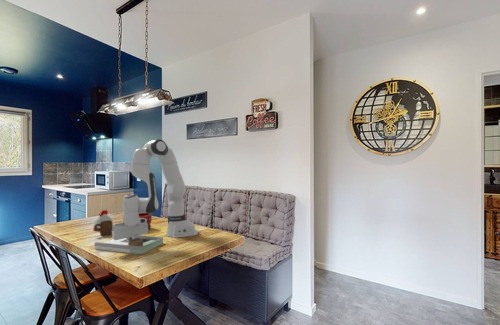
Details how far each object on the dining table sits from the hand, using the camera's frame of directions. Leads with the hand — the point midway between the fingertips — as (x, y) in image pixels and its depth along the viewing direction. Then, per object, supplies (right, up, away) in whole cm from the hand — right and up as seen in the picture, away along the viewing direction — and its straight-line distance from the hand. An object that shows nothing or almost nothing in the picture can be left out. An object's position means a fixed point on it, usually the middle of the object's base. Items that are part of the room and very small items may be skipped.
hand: (130, 243), depth 149 cm
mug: (-35, -4, +30) cm, 46 cm away
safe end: (+9, -3, +2) cm, 10 cm away
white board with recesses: (-3, -3, +6) cm, 7 cm away
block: (+4, -1, -2) cm, 4 cm away
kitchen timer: (-45, -4, +48) cm, 66 cm away
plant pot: (-13, -4, +46) cm, 48 cm away
